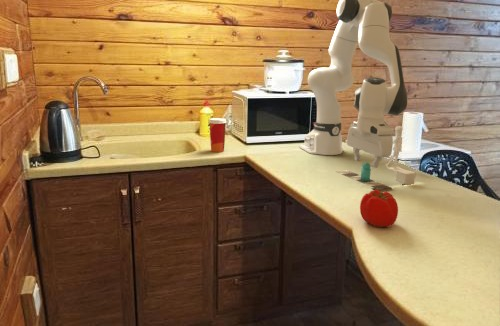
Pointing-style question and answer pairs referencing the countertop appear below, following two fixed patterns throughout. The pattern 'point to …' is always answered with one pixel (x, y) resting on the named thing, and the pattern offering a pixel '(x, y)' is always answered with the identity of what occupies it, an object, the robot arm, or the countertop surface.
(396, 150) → the figurine
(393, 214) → the tomato
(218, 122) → the coffee cup
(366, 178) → the pawn
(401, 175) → the beige cube
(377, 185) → the board
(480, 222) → the countertop surface
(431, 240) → the countertop surface
